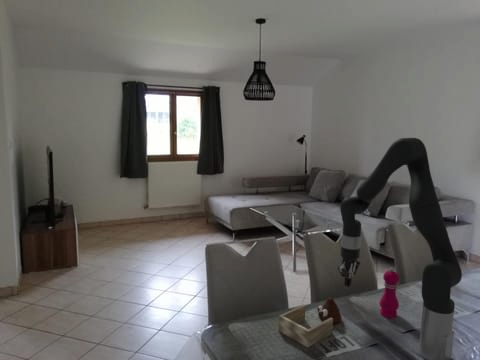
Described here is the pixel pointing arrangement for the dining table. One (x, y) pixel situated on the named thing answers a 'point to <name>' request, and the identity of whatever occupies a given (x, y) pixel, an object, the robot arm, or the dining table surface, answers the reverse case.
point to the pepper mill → (389, 295)
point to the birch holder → (301, 333)
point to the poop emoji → (330, 311)
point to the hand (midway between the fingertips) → (347, 285)
